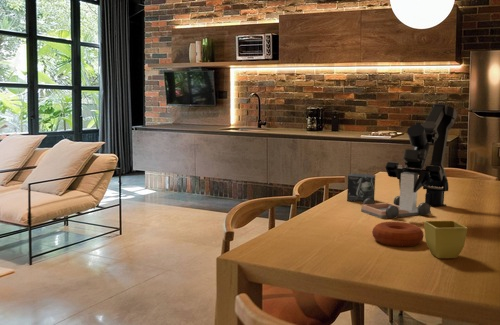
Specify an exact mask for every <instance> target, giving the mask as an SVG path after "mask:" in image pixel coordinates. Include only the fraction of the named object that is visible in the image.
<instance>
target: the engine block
mask: <svg viewBox="0 0 500 325" xmlns="http://www.w3.org/2000/svg"><path fill="white" fill-rule="evenodd" d="M418 177H419V175H418V173H412V172H403V173H401V183H400V186H399V196H400V203H399V210H405V211H414V210H416V207H418V206H417V203H418V191H417V192H414V188H415V185H416V182H417V180H418Z"/></svg>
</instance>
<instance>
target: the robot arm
mask: <svg viewBox="0 0 500 325" xmlns="http://www.w3.org/2000/svg"><path fill="white" fill-rule="evenodd" d="M457 118H458V112H457V109H456V108H454V107H452V106H449V105H448V104H445V103H434V104H433V103H432V106H431V110H430V112H429V114H428V115H427V117H426V119H425V121H424V122H423V123H422V122H415V124H412V125H411V126H409V127H408V128H407V131H406V132H407V136H408V140H409V142H410V143H409V144H410V146H412V149H408V148H407V149H404V154H403V159H404V165H406V166H404V165H402V164H400V163H399V161H398V162H397V161H388V162H386V164H385V167H384V168H385V171H386V174H387V176H388V177H390V178H397V180H398V183H399V184H398V185H399V187H400V183H401V173H403V172H412V173H418V180H417V182H416V185H415V188H414V192H417V193H418V191H419V190H420V189H421V188H422V189H423V190H426V192H425V197H424V198H425V200H424V203H427V204H429V205H430V207H432V208H437V207H447V204H445V202H444V201H445V192H449V180H448V177H447V172H446V169H445V168H444V167H445V166H444V162H445V155H446V150H447V149H446V148H447V144H448V143H447V142H448V136H449V131H450V130H451V128H453V127H454V125H455V121H456V119H457ZM430 144H433V148H432V155H431V160H430V163H429V165H427V159H428V156H429V154H430V152H431V151H430V149H431V145H430Z"/></svg>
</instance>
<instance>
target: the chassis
mask: <svg viewBox="0 0 500 325" xmlns="http://www.w3.org/2000/svg"><path fill="white" fill-rule="evenodd" d="M399 203H400V195H397V196H395V197H394V199H393V203H391V202H380V203H376V201H375V199H374V200H373V199H370V198H367V199H365V200H364V202H362V204H361V206H360V208H361V210H360V212H361V213H365V214H368V215H369V216H373V217H376V218H378V219H392V220H393V219H395V218H401V217H410V216H428V215H431V213H432V210H431V206H430V205H429V204H427V203H425V202H420V203H419V204H418V206H416V210H414V211H405V210H399Z"/></svg>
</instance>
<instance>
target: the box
mask: <svg viewBox="0 0 500 325" xmlns="http://www.w3.org/2000/svg"><path fill="white" fill-rule="evenodd" d="M375 187H376V175H375V174H365V173H364V174H362V173H361V174H360V173H349V174H348V175H347V190H346V191H347V196H346V201H347V202H355V203H363V202H364V200H365V199H367V198H370V199H373V200H374V201H375V194H376V193H375V191H376V188H375Z"/></svg>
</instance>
